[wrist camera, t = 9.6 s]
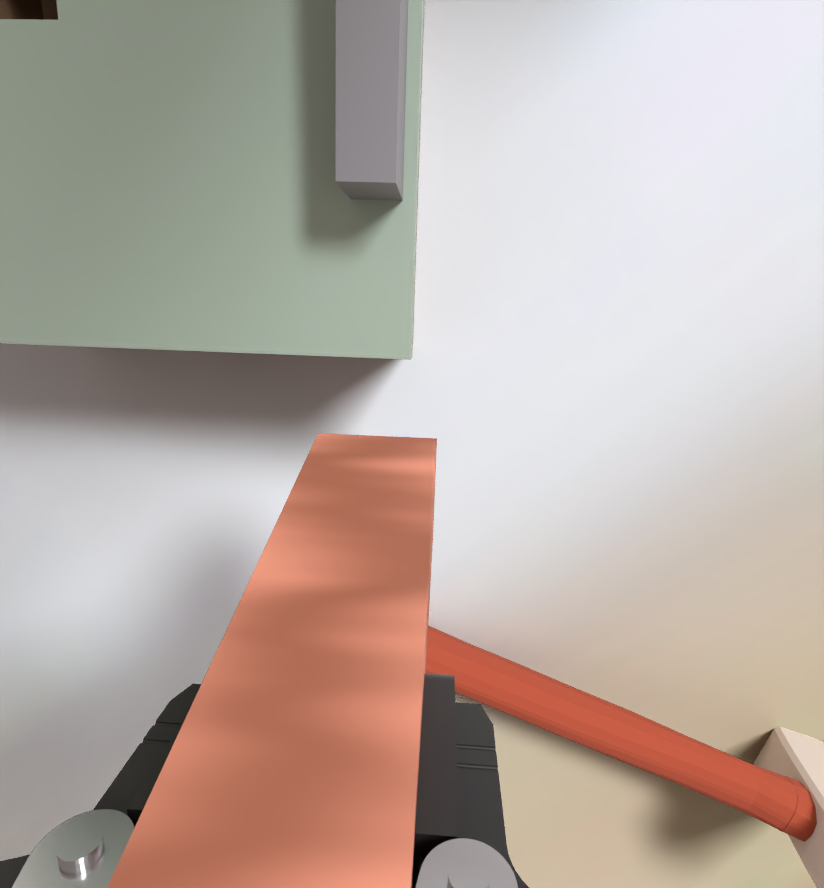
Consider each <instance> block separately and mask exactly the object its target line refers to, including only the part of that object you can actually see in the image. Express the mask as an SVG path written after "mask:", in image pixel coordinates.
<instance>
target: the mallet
mask: <svg viewBox="0 0 824 888" xmlns="http://www.w3.org/2000/svg"><path fill="white" fill-rule="evenodd" d="M426 673H428V674H443V675H454V677H455V692H457V693H459V694H462V695H464V696H467V697H469V698H472V699H474V700H476V701H479V702H481V703H484V704H486V705H489V706H491V707H494V708H496V709H498V710H501V711H503V712H506V713H508V714H510V715H513V716H515V717H517V718H520V719H522V720H525V721H527V722H529V723H532V724H534V725H536V726H539V727H541V728H543V729H546V730H548V731H550V732H553V733H555V734H557V735H560V736H562V737H565V738H567V739H570V740H572V741H574V742H577V743H579V744H582V745H584V746H587V747H589V748H591V749H594V750H596V751H599V752H601V753H604V754H606V755H609V756H611V757H613V758H616V759H618V760H621V761H623V762H626V763H628V764H631V765H633V766H635V767H638V768H640V769H643V770H645V771H648V772H650V773H653V774H655V775H658V776H660V777H663V778H665V779H667V780H670V781H672V782H675V783H677V784H680V785H682V786H684V787H687V788H689V789H691V790H694V791H696V792H698V793H701V794H703V795H706V796H708V797H710V798H713V799H715V800H717V801H720V802H722V803H724V804H727V805H729V806H731V807H734V808H736V809H738V810H741V811H743V812H745V813H747V814H749V815H751V816H753V817H755V818H757V819H759V820H761V821H763V822H765V823H767V824H769V825H771V826H773V827H775V828H777V829H778V830H780V831H782V832H785V833H787V834H788V835H789V837H790V839H791V841H792V843H793V845H794V847H795V849H796V850H797V852H798V854H799V856H800V858H801V860H802V862H803V864H804V866H805V867H806V869H807V871H808V873H809V874H810V876H811V878H812V880H813V881H814V883H815V885H816V887H817V888H824V742H822V741H820V740H818V739H816V738H813V737H810V736H807V735H804V734H801V733H798V732H795V731H792V730H789V729H786V728H783V727H777V728H774V729H773V731H772V733H771V734H770V736H769V738H768V740H767V741H766V743H765V745H764V746H763V748H762V750H761V751H760V753H759V755H758V756H757V758H756V760H755V762H754V763H753V764H754V765H753V764H750V763H748V762H746V761H743V760H741V759H739V758H736V757H734V756H732V755H729V754H727V753H725V752H722V751H720V750H718V749H715V748H713V747H711V746H708V745H706V744H704V743H702V742H699V741H697V740H695V739H692V738H690V737H688V736H685V735H683V734H681V733H679V732H677V731H674V730H672V729H670V728H668V727H665V726H663V725H661V724H659V723H656V722H654V721H652V720H650V719H647V718H645V717H643V716H641V715H639V714H636V713H634V712H632V711H630V710H627V709H625V708H622V707H620V706H617V705H615V704H613V703H610V702H608V701H605V700H603V699H600V698H598V697H596V696H593V695H591V694H588V693H586V692H583V691H581V690H579V689H576V688H574V687H571V686H569V685H567V684H564V683H562V682H560V681H557V680H555V679H553V678H550V677H548V676H545V675H543V674H541V673H538V672H536V671H534V670H531V669H529V668H527V667H524V666H522V665H520V664H517V663H515V662H512V661H510V660H508V659H505V658H503V657H500V656H498V655H495V654H493V653H490V652H488V651H486V650H483V649H481V648H478V647H476V646H473V645H471V644H469V643H466V642H464V641H461V640H459V639H457V638H455V637H453V636H450V635H448V634H446V633H444V632H441V631H439V630H437V629H435V628H432V627H430V626H428V636H427V654H426Z"/></svg>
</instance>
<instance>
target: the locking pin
mask: <svg viewBox="0 0 824 888" xmlns="http://www.w3.org/2000/svg"><path fill="white" fill-rule="evenodd" d="M436 446H437V439H433V438H410V437H387V436H364V435H341V434H317V437H316V439H315V441H314V443H313V445H312V447H311V450H310V452H309V454H308V456H307V458H306V460H305V462H304V465H303V467H302V469H301V471H300V473H299V475H298V478H297V480H296V482H295V484H294V486H293V488H292V490H291V493H290V495H289V497H288V499H287V501H286V503H285V505H284V508H283V510H282V512H281V514H280V516H279V518H278V521H277V523H276V525H275V527H274V529H273V531H272V533H271V536H270V538H269V540H268V542H267V544H266V546H265V549H264V551H263V553H262V555H261V557H260V559H259V561H258V564H257V566H256V568H255V570H254V572H253V574H252V576H251V579H250V581H249V583H248V585H247V587H246V589H245V592H244V594H243V596H242V598H241V600H240V602H239V604H238V607H237V609H236V611H235V613H234V615H233V617H232V620H231V622H230V624H229V626H228V628H227V630H226V632H225V635H224V637H223V639H222V641H221V643H220V645H219V647H218V650H217V652H216V654H215V656H214V658H213V660H212V663H211V665H210V667H209V669H208V671H207V673H206V675H205V678H204V680H203V682H202V684H201V686H200V688H199V691H198V693H197V695H196V697H195V699H194V701H193V703H192V706H191V708H190V710H189V712H188V714H187V716H186V718H185V721H184V723H183V725H182V727H181V729H180V731H179V734H178V736H177V738H176V740H175V742H174V744H173V746H172V749H171V751H170V753H169V755H168V757H167V759H166V761H165V764H164V766H163V768H162V770H161V772H160V774H159V777H158V779H157V781H156V783H155V785H154V787H153V789H152V792H151V794H150V796H149V798H148V800H147V802H146V805H145V807H144V809H143V811H142V813H141V815H140V817H139V820H138V822H137V824H136V826H135V828H134V830H133V832H132V835H131V837H130V839H129V841H128V843H127V845H126V848H125V850H124V852H123V854H122V856H121V858H120V860H119V863H118V865H117V867H116V869H115V871H114V873H113V876H112V878H111V880H110V882H109V884H108V886H107V888H413V863H414V838H415V820H416V803H417V787H418V771H419V754H420V738H421V722H422V705H423V689H424V674H425V673H426V654H427V636H428V617H429V599H430V580H431V562H432V543H433V521H434V496H435V471H436Z"/></svg>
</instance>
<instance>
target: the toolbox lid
mask: <svg viewBox="0 0 824 888" xmlns="http://www.w3.org/2000/svg"><path fill="white" fill-rule="evenodd" d="M56 2H57V12H58V20H39V19H0V343H2V344H28V345H53V346H79V347H104V348H130V349H155V350H181V351H206V352H232V353H257V354H282V355H308V356H333V357H359V358H384V359H410V360H411V358H412V346H413V316H414V286H415V256H416V227H417V197H418V167H419V137H420V107H421V78H422V48H423V18H424V0H56Z"/></svg>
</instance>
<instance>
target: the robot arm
mask: <svg viewBox="0 0 824 888" xmlns="http://www.w3.org/2000/svg"><path fill="white" fill-rule="evenodd" d="M200 686H201V684H192V685H191V686H189V687H188V688H187V689H185V690H184V691H183V692H181V693H180V694H179V695H177V696H176V697H175V698H173V699H172V700H171V701H170V702H169V703H168V705H167V706H166V708H165V709H164V711H163V712H162V713H161V715H160V716H159V718H158V719H157V720H156V724H155V726H152V728H151V729H150V730H149V732H148V733H147V735H146V736H145V737H144V740H143V743H140V744H139V746H138V747H137V749H136V750H135V752H134V753H133V754H132V756H131V757H130V759H129V760H128V761H127V763H126V764H125V766H124V767H123V769H122V770H121V771H120V773H119V774H118V776H117V777H116V778H115V780H114V781H113V783H112V784H111V786H110V787H109V788H108V790H107V791H106V793H105V794H104V795H103V797H102V798H101V800H100V801H99V803H98V804H97V805H96V807H95V808H94V810H92V811H89V812H85V813H82V814H79V815H77V816H74V817H72V818H70V819H69V820H67V821H65V822H63V823H62V824H60V825H59V826H57V827H56V828H54V829H53V830H52V831H51V832H49V833H48V834H47V835H46V836H45V837H44V838H43V839H42V840H41V841H40V842H39V843H38V844H37V846H36V847H35V848H34V849H33V851H32V853H31V854H30V855H26V856H22V857H18V858H14V859H9V860H4V861H0V888H107V886H108V884H109V882H110V880H111V878H112V876H113V873H114V871H115V869H116V867H117V865H118V863H119V860H120V858H121V856H122V854H123V852H124V850H125V848H126V845H127V843H128V841H129V839H130V837H131V835H132V832H133V830H134V828H135V826H136V824H137V822H138V820H139V817H140V815H141V813H142V811H143V809H144V807H145V805H146V802H147V800H148V798H149V796H150V794H151V792H152V789H153V787H154V785H155V783H156V781H157V779H158V777H159V774H160V772H161V770H162V768H163V766H164V764H165V761H166V759H167V757H168V755H169V753H170V751H171V749H172V746H173V744H174V742H175V740H176V738H177V736H178V734H179V731H180V729H181V727H182V725H183V723H184V721H185V718H186V716H187V714H188V712H189V710H190V708H191V706H192V703H193V701H194V699H195V697H196V695H197V693H198V691H199V688H200ZM413 888H529V887H528V886H527V885H526V884H525V883H524V882H523V881H522V879H521V878H520V877H519V875H518V874H517V872H516V871H515V869H514V867H513V865H512V863H511V860H510V858H509V855H508V850H507V845H506V836H505V827H504V818H503V809H502V801H501V792H500V783H499V774H498V765H497V756H496V752H495V739H494V730H493V724H492V722H491V721H490V719H489V717H488V716H487V714H486V713H485V711H484V710H483V708H482V707H481V705H480V704H468V703H455V677H454V675H443V674H428V673H425V674H424V689H423V705H422V722H421V738H420V754H419V771H418V787H417V803H416V820H415V838H414V863H413Z"/></svg>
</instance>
